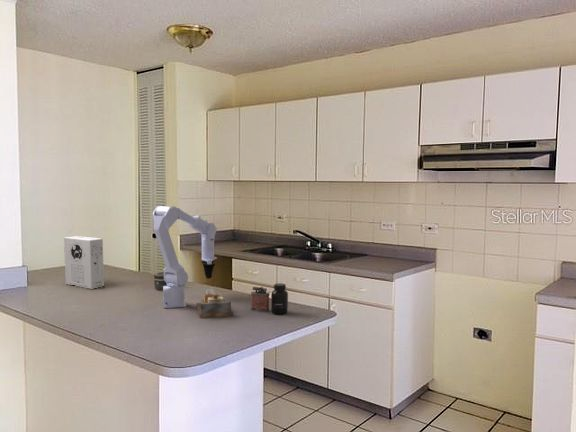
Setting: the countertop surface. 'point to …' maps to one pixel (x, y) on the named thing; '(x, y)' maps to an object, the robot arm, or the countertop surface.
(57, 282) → the countertop surface
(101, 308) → the countertop surface
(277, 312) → the supplement bottle
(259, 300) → the lighter
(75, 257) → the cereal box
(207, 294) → the block
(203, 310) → the press bed
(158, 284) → the jar
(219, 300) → the block
